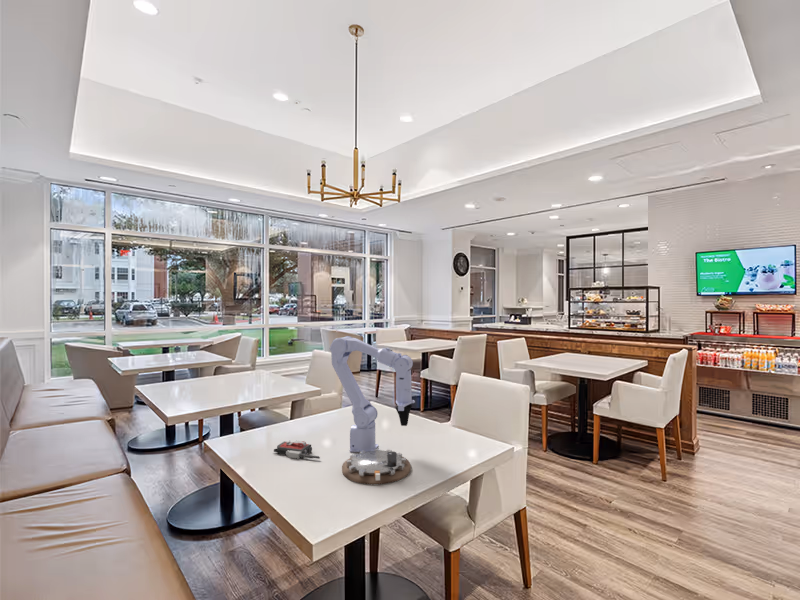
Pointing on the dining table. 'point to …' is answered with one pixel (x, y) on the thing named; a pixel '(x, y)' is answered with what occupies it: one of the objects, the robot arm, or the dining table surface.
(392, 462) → the sprocket
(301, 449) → the walkie-talkie
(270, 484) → the dining table surface
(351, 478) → the sprocket base
